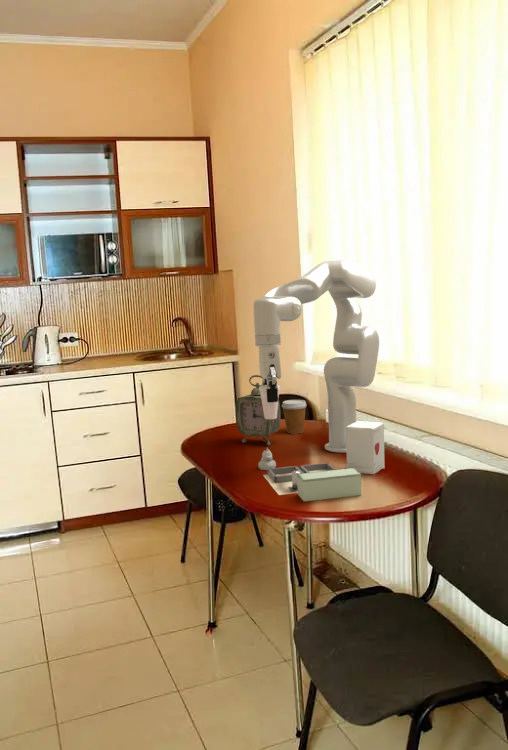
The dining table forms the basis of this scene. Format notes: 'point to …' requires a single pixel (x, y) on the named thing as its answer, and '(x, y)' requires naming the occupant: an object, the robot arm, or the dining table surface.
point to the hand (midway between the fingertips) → (270, 399)
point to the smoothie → (271, 407)
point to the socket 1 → (282, 470)
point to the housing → (329, 484)
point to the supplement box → (365, 446)
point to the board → (284, 484)
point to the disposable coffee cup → (294, 415)
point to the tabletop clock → (255, 415)
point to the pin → (295, 479)
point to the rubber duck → (267, 461)
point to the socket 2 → (316, 467)
